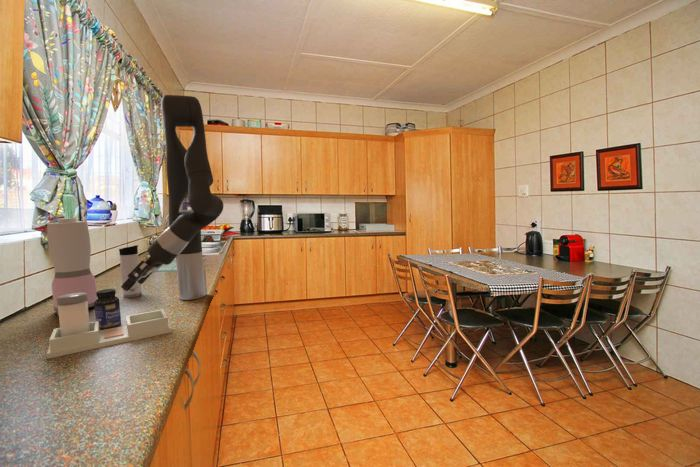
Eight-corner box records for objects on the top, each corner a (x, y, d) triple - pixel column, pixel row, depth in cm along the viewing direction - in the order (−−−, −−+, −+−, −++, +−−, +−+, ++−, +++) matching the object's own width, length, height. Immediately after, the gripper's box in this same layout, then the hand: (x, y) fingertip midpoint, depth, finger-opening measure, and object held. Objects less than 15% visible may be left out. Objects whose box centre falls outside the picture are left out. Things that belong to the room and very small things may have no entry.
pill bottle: (109, 331, 102) (105, 293, 101) (91, 330, 103) (87, 293, 102) (126, 323, 108) (123, 288, 107) (109, 322, 109) (106, 287, 108)
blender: (90, 312, 121) (80, 218, 118) (47, 317, 117) (35, 220, 114) (106, 300, 136) (97, 216, 132) (68, 304, 132) (58, 218, 129)
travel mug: (136, 297, 139) (131, 246, 137) (119, 297, 139) (114, 247, 137) (145, 293, 145) (141, 244, 143) (129, 293, 145) (125, 244, 143)
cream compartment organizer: (166, 321, 109) (163, 279, 108) (172, 332, 100) (168, 286, 99) (52, 344, 94) (46, 295, 93) (47, 358, 85) (40, 304, 84)
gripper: (168, 234, 112) (133, 272, 112) (148, 239, 98) (107, 282, 98) (187, 250, 113) (152, 287, 113) (170, 257, 99) (130, 300, 99)
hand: (131, 285), depth 105 cm, fingers open, 8 cm apart
